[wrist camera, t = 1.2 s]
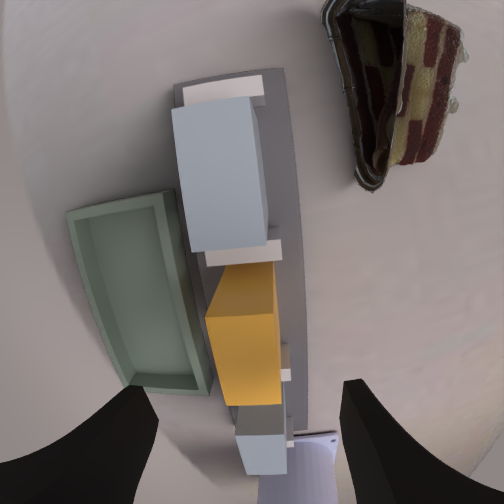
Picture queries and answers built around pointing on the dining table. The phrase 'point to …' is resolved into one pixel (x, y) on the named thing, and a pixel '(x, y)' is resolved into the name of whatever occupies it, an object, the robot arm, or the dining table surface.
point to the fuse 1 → (221, 174)
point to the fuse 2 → (263, 437)
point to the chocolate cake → (393, 80)
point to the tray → (142, 292)
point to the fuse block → (279, 224)
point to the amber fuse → (246, 334)
